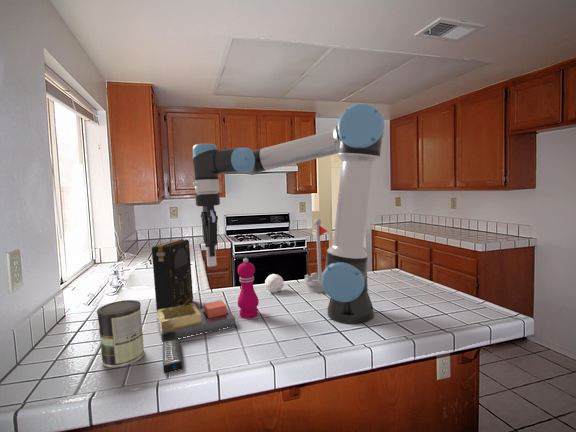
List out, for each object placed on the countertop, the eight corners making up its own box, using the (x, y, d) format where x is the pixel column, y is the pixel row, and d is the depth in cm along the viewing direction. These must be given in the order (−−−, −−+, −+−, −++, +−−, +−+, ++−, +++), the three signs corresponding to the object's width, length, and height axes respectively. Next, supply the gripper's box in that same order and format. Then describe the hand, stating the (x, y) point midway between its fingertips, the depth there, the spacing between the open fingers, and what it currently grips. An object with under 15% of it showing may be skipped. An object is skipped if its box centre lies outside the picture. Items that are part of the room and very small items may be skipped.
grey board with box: (235, 326, 106) (234, 308, 105) (162, 343, 96) (160, 323, 96) (223, 312, 118) (222, 296, 118) (157, 326, 109) (156, 308, 108)
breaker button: (226, 314, 108) (226, 305, 108) (208, 318, 106) (207, 309, 106) (221, 308, 114) (221, 300, 114) (204, 312, 111) (203, 303, 111)
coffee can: (94, 369, 83) (88, 315, 82) (112, 350, 94) (107, 301, 92) (136, 366, 84) (131, 312, 83) (150, 346, 94) (145, 298, 93)
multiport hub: (179, 345, 95) (179, 337, 95) (182, 370, 82) (182, 361, 82) (163, 349, 94) (162, 341, 94) (163, 374, 80) (163, 365, 80)
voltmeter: (175, 315, 118) (170, 245, 116) (153, 314, 120) (147, 246, 118) (196, 300, 133) (191, 238, 131) (176, 299, 135) (171, 238, 133)
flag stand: (298, 289, 141) (295, 219, 139) (319, 282, 150) (316, 216, 148) (321, 295, 132) (318, 220, 129) (342, 288, 141) (339, 217, 138)
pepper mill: (242, 320, 110) (239, 261, 109) (235, 313, 117) (232, 257, 115) (262, 315, 114) (259, 258, 112) (254, 309, 120) (251, 254, 118)
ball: (279, 299, 138) (284, 287, 134) (261, 293, 138) (265, 280, 133) (282, 285, 144) (287, 273, 140) (265, 279, 144) (269, 267, 139)
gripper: (191, 193, 111) (196, 263, 113) (199, 193, 99) (204, 271, 101) (213, 192, 114) (218, 260, 116) (224, 192, 102) (228, 268, 104)
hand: (212, 265), depth 108 cm, fingers closed
